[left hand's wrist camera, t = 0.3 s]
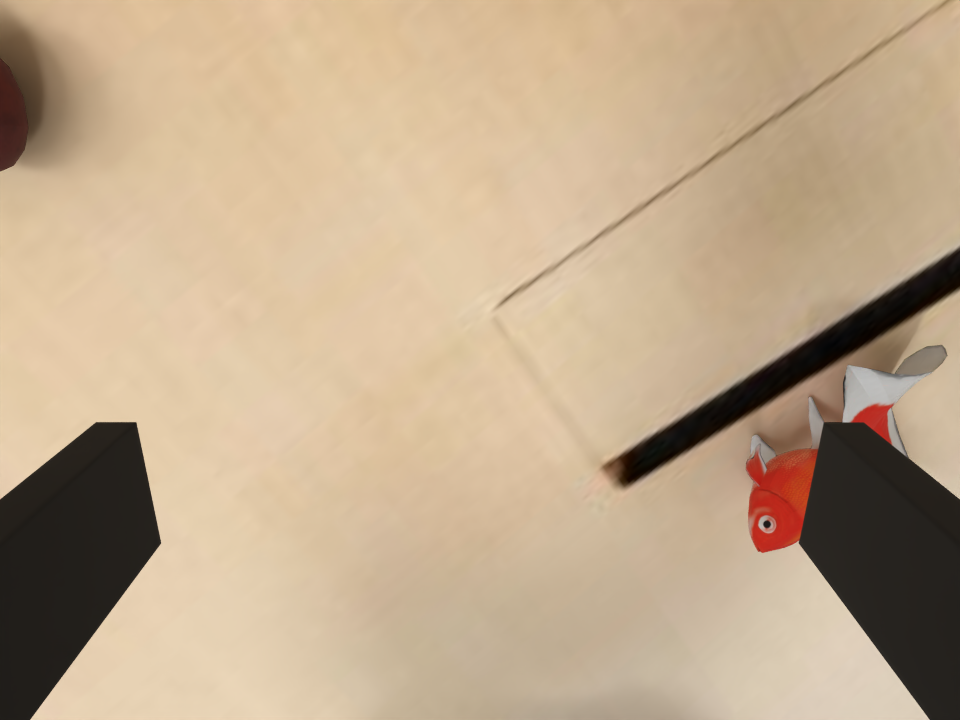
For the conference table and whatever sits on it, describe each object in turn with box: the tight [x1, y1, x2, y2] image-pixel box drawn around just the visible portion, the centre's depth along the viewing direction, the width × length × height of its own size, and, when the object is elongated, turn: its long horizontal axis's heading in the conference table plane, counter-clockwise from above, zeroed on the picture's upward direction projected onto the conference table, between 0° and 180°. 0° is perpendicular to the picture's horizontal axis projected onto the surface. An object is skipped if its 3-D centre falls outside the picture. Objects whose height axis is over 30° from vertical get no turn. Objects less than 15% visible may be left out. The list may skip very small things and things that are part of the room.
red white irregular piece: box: [746, 345, 947, 553], centre depth 39 cm, size 11×16×10 cm
